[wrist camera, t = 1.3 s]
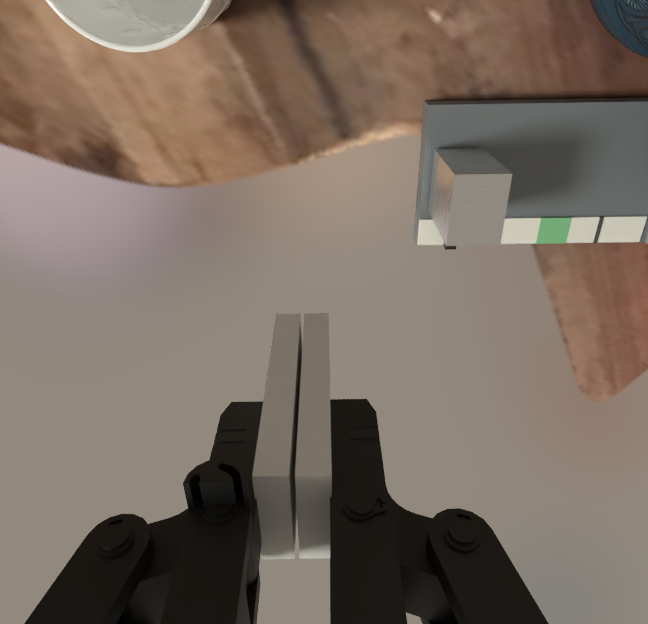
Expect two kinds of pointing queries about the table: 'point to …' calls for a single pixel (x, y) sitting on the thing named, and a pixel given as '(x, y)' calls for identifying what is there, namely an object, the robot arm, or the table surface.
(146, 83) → the table surface
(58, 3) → the white cup
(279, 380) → the robot arm
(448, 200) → the block
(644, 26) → the canister
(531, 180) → the gauge base
